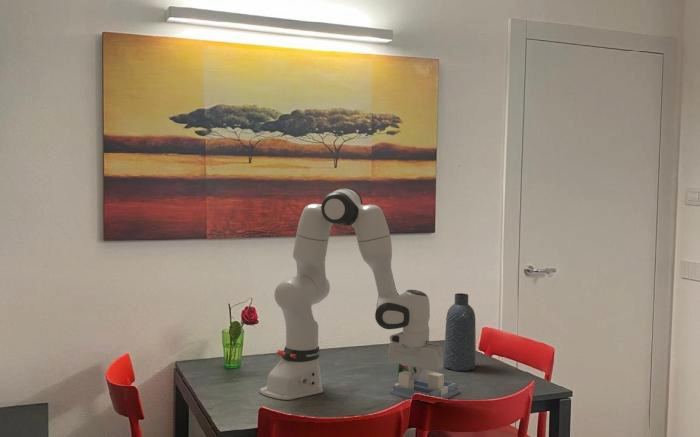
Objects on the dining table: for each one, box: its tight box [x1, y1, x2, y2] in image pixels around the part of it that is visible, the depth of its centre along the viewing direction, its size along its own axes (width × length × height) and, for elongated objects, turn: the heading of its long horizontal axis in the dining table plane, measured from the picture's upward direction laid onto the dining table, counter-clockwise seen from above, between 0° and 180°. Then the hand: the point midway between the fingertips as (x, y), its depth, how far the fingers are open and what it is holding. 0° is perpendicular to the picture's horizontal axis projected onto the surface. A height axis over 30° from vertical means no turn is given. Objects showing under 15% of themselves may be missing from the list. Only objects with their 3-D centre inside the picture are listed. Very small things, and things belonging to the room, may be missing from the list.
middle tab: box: [428, 371, 445, 390], centre depth 262 cm, size 4×4×6 cm
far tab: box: [419, 369, 434, 382], centre depth 271 cm, size 4×4×6 cm
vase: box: [443, 292, 477, 372], centre depth 297 cm, size 12×12×28 cm
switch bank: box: [390, 380, 461, 399], centre depth 264 cm, size 17×17×3 cm
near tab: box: [398, 371, 414, 390], centre depth 262 cm, size 4×4×6 cm
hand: (414, 379), depth 260 cm, fingers closed
